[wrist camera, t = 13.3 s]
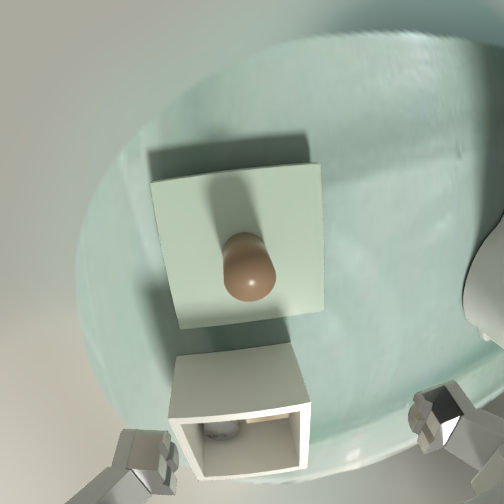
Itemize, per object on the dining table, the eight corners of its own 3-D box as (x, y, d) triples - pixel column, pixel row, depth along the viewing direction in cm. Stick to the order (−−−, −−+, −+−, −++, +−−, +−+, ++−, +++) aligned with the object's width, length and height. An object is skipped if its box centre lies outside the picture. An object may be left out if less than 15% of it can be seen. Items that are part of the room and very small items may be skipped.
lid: (311, 160, 24) (342, 170, 18) (315, 297, 28) (340, 340, 22) (156, 178, 23) (133, 195, 17) (182, 314, 28) (174, 363, 21)
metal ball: (235, 398, 30) (237, 419, 28) (239, 418, 32) (241, 439, 29) (201, 401, 30) (200, 422, 27) (207, 421, 32) (207, 441, 29)
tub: (290, 342, 29) (310, 402, 22) (292, 413, 33) (307, 468, 26) (176, 355, 29) (167, 418, 21) (199, 424, 33) (198, 480, 25)
